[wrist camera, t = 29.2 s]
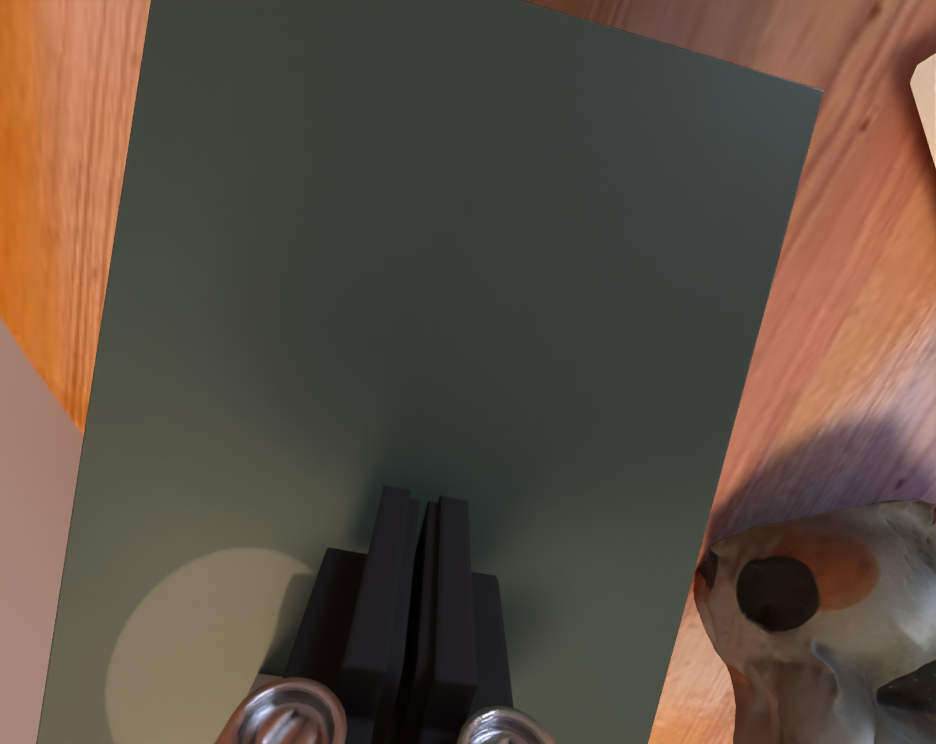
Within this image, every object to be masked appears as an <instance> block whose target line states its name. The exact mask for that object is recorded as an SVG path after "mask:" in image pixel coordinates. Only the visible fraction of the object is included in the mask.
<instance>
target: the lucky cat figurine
mask: <svg viewBox="0 0 936 744" xmlns="http://www.w3.org/2000/svg"><path fill="white" fill-rule="evenodd" d="M695 574H696V579H695V585H694V589H693V591H694V599H695V603H696V607H697V611H698V612H699V614H700V618H701V620H702V623H703V625H704V628H705V630H706V632H707V634H708V636H709V638H710V640H711V642H712V644H713V646H714V649H715V651H716V652H717V653H718V655H719V656H720V657H721V659H722V660H723V661H724V663H725V664H726V666H727V668H728V670H729V673H730V675H731V680H732V684H733V689H734V696H735V703H736V715H735V730H734V737H733V744H936V504H931V503H927V502H924V501H921V500H915V499H913V500H893V501H883V502H878V503H872V504H867V505H862V506H857V507H852V508H846V509H841V510H836V511H832V512H827V513H823V514H818V515H814V516H809V517H805V518H800V519H796V520H792V521H788V522H784V523H779V524H764V525H763V526H756V527H754V528H750V529H748V530H745V531H743V532H741V533H738V534H736V535H733V536H731V537H729V538H726V539H723V540H721V541H718V542H717V543H715V544H713V545H711V547H710V551H709V563H708V562H705V561H703V562H702V564H701V566H700V568H699V569H698V570H697V571H696V573H695Z"/></svg>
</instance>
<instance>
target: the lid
mask: <svg viewBox="0 0 936 744" xmlns="http://www.w3.org/2000/svg"><path fill="white" fill-rule="evenodd" d="M823 93H824V91H823V90H821V89H818V88H814V87H811V86H808V85H804V84H801V83H798V82H794V81H791V80H788V79H784V78H781V77H777V76H774V75H771V74H767V73H764V72H761V71H757V70H754V69H751V68H747V67H744V66H740V65H737V64H734V63H730V62H727V61H724V60H720V59H717V58H714V57H710V56H707V55H703V54H700V53H697V52H693V51H690V50H687V49H683V48H680V47H677V46H673V45H670V44H666V43H663V42H660V41H656V40H653V39H650V38H646V37H643V36H640V35H636V34H633V33H629V32H626V31H623V30H619V29H616V28H613V27H609V26H606V25H603V24H599V23H596V22H592V21H589V20H586V19H582V18H579V17H576V16H572V15H569V14H565V13H562V12H559V11H555V10H552V9H549V8H545V7H542V6H539V5H535V4H532V3H528V2H525V1H522V0H151V4H150V10H149V17H148V23H147V30H146V36H145V43H144V49H143V56H142V62H141V69H140V75H139V82H138V88H137V95H136V101H135V107H134V114H133V120H132V127H131V133H130V140H129V146H128V153H127V159H126V166H125V172H124V179H123V185H122V192H121V198H120V205H119V211H118V218H117V224H116V231H115V237H114V244H113V250H112V257H111V263H110V270H109V276H108V283H107V289H106V295H105V302H104V308H103V315H102V321H101V328H100V334H99V341H98V347H97V354H96V360H95V367H94V373H93V380H92V386H91V393H90V399H89V406H88V412H87V419H86V425H85V432H84V438H83V445H82V452H81V458H80V465H79V471H78V477H77V483H76V490H75V497H74V503H73V509H72V517H71V522H70V529H69V536H68V542H67V549H66V555H65V561H64V568H63V575H62V581H61V587H60V594H59V600H58V607H57V613H56V620H55V626H54V633H53V639H52V646H51V652H50V659H49V665H48V672H47V679H46V684H45V692H44V697H43V704H42V710H41V717H40V724H39V730H38V736H37V743H36V744H215V742H216V740H217V739H218V737H219V735H220V734H221V732H222V730H223V728H224V727H225V725H226V723H227V722H228V720H229V718H230V717H231V715H232V713H233V712H234V711H235V709H236V708H237V707H238V706H239V704H240V703H241V702H242V701H243V699H244V698H245V697H247V696H248V695H249V694H251V693H252V692H253V691H255V690H256V689H257V688H259V687H260V686H262V685H265V684H267V683H269V682H272V681H274V680H276V679H282V677H283V674H284V671H285V668H286V665H287V662H288V660H289V657H290V654H291V651H292V648H293V645H294V642H295V639H296V636H297V633H298V630H299V628H300V625H301V622H302V619H303V616H304V613H305V610H306V607H307V604H308V601H309V599H310V596H311V593H312V590H313V587H314V584H315V581H316V578H317V575H318V572H319V569H320V567H321V564H322V561H323V558H324V555H325V552H326V550H327V548H328V547H329V548H335V549H341V550H347V551H353V552H359V553H365V554H368V551H369V547H370V542H371V538H372V533H373V529H374V525H375V520H376V516H377V511H378V507H379V503H380V498H381V494H382V489H383V485H386V486H392V487H397V488H403V489H408V490H411V492H410V498H416V499H420V505H419V515H418V525H417V535H416V545H415V552H416V548H417V544H418V539H419V535H420V531H421V527H422V523H423V519H424V515H425V511H426V507H427V503H428V501H432V502H438V500H439V497H440V495H441V496H446V497H452V498H457V499H463V500H467V501H468V514H469V534H470V553H471V571H472V572H478V573H484V574H490V575H496V577H497V578H498V582H499V588H500V597H501V605H502V614H503V622H504V630H505V639H506V647H507V656H508V664H509V672H510V681H511V689H512V698H513V706H514V708H516V709H518V710H520V711H522V712H524V713H527V714H529V715H530V716H531V717H532V718H534V719H535V720H536V721H538V722H539V723H540V724H541V725H543V727H544V728H545V729H546V731H547V732H548V733H549V734H550V736H551V737H552V738H553V739H554V741H555V743H556V744H648V741H649V737H650V733H651V730H652V726H653V722H654V719H655V715H656V711H657V708H658V704H659V700H660V696H661V693H662V689H663V685H664V682H665V678H666V674H667V670H668V667H669V663H670V659H671V656H672V652H673V648H674V645H675V641H676V637H677V633H678V630H679V626H680V622H681V619H682V615H683V611H684V608H685V604H686V600H687V596H688V593H689V589H690V585H691V582H692V578H693V574H694V571H695V567H696V563H697V559H698V556H699V552H700V548H701V545H702V541H703V537H704V533H705V530H706V526H707V522H708V519H709V515H710V511H711V508H712V504H713V500H714V496H715V493H716V489H717V485H718V482H719V478H720V474H721V471H722V467H723V463H724V459H725V456H726V452H727V448H728V445H729V441H730V437H731V434H732V430H733V426H734V422H735V419H736V415H737V411H738V408H739V404H740V400H741V396H742V393H743V389H744V385H745V382H746V378H747V374H748V371H749V367H750V363H751V359H752V356H753V352H754V348H755V345H756V341H757V337H758V334H759V330H760V326H761V322H762V319H763V315H764V311H765V308H766V304H767V300H768V297H769V293H770V289H771V285H772V282H773V278H774V274H775V271H776V267H777V263H778V260H779V256H780V252H781V248H782V245H783V241H784V237H785V234H786V230H787V226H788V222H789V219H790V215H791V211H792V208H793V204H794V200H795V197H796V193H797V189H798V185H799V182H800V178H801V174H802V171H803V167H804V163H805V160H806V156H807V152H808V148H809V145H810V141H811V137H812V134H813V130H814V126H815V123H816V119H817V115H818V111H819V108H820V104H821V100H822V97H823ZM414 556H415V555H414Z"/></svg>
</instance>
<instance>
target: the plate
mask: <svg viewBox="0 0 936 744" xmlns="http://www.w3.org/2000/svg"><path fill="white" fill-rule="evenodd" d="M910 86H911V89H912V92H913V96H914V99H915V102H916V106H917V109H918V112H919V115H920V119H921V122H922V125H923V129H924V132H925V135H926V139H927V142H928V145H929V148H930V152H931V155H932V158H933V162H934V165H935V168H936V53H935V54H934V55H932V56H930V57H929V58H927V59H926V60H924V61H923V62H921V63H920V64H918V65H917V66H916V69H915V71H914V73H913V76H912V78H911V81H910Z"/></svg>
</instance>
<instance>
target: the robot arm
mask: <svg viewBox="0 0 936 744" xmlns="http://www.w3.org/2000/svg"><path fill="white" fill-rule="evenodd" d="M410 492H411V490H408V489H403V488H397V487H392V486H386V485H383V489H382V494H381V498H380V503H379V507H378V511H377V516H376V520H375V525H374V529H373V533H372V538H371V542H370V547H369V551H368V554H365V553H359V552H353V551H347V550H341V549H335V548H329V547H328V548H327V550H326V552H325V555H324V558H323V561H322V564H321V567H320V569H319V572H318V575H317V578H316V581H315V584H314V587H313V590H312V593H311V596H310V599H309V601H308V604H307V607H306V610H305V613H304V616H303V619H302V622H301V625H300V628H299V630H298V633H297V636H296V639H295V642H294V645H293V648H292V651H291V654H290V657H289V660H288V662H287V665H286V668H285V671H284V674H283V677H282V679H276V680H274V681H272V682H269V683H267V684H265V685H262V686H260V687H259V688H257V689H256V690H255V691H253V692H252V693H251V694H249V695H248V696H247V697H245V698H244V699H243V701H242V702H241V703H240V704H239V706H238V707H237V708H236V709H235V711H234V712H233V713H232V715H231V717H230V718H229V720H228V722H227V723H226V725H225V727H224V728H223V730H222V732H221V734H220V735H219V737H218V739H217V740H216V742H215V744H556V743H555V741H554V739H553V738H552V737H551V736H550V734H549V733H548V732H547V731H546V729H545V728H544V727H543V725H541V724H540V723H539V722H538V721H536V720H535V719H534V718H532V717H531V716H530V715H529V714H527V713H524V712H522V711H520V710H518V709H516V708H514V706H513V698H512V689H511V681H510V672H509V664H508V656H507V647H506V639H505V630H504V622H503V614H502V605H501V597H500V588H499V582H498V578H497V577H496V575H490V574H484V573H478V572H472V571H471V553H470V534H469V514H468V501H467V500H463V499H457V498H452V497H446V496H441V495H440V497H439V500H438V502H432V501H428V503H427V507H426V511H425V515H424V519H423V523H422V527H421V531H420V535H419V539H418V544H417V548H416V552H415V545H416V535H417V525H418V515H419V505H420V499H416V498H410ZM414 555H415V556H414Z"/></svg>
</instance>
